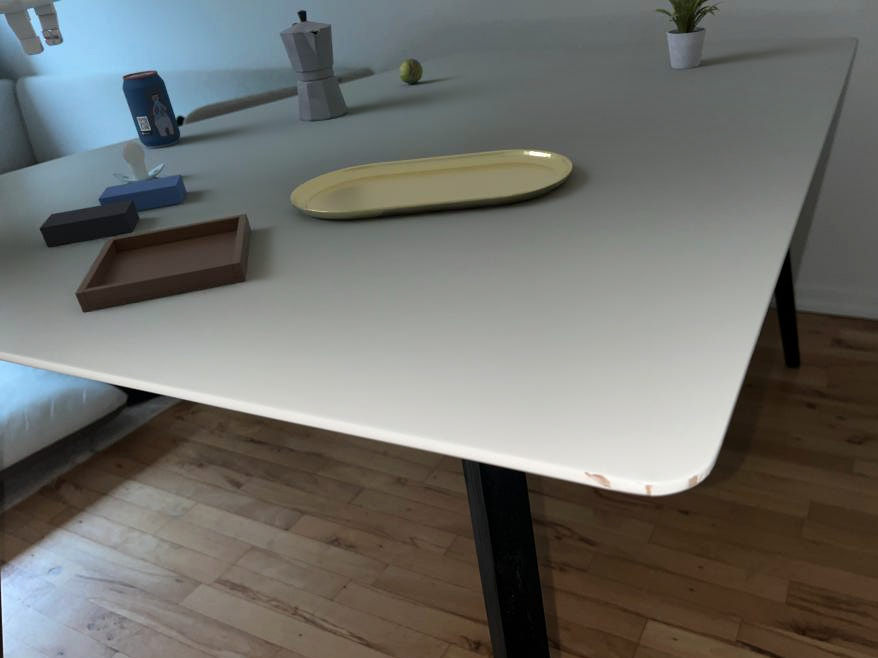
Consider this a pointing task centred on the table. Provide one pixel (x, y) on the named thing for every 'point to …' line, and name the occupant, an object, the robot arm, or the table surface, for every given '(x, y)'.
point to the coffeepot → (314, 69)
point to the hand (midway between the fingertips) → (46, 49)
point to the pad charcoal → (89, 223)
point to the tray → (167, 262)
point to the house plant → (686, 32)
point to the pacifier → (136, 165)
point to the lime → (410, 71)
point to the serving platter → (432, 184)
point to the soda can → (151, 109)
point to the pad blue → (147, 193)
